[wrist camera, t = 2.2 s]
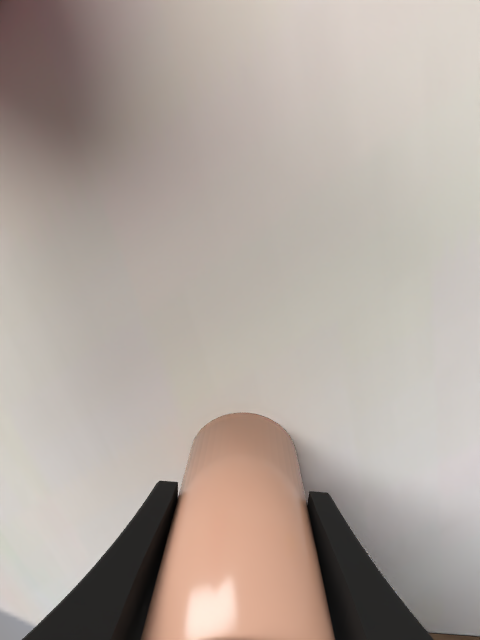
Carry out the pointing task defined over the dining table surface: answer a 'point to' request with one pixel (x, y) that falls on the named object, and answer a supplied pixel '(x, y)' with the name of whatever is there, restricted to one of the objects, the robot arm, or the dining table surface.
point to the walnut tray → (452, 637)
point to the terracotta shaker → (240, 543)
